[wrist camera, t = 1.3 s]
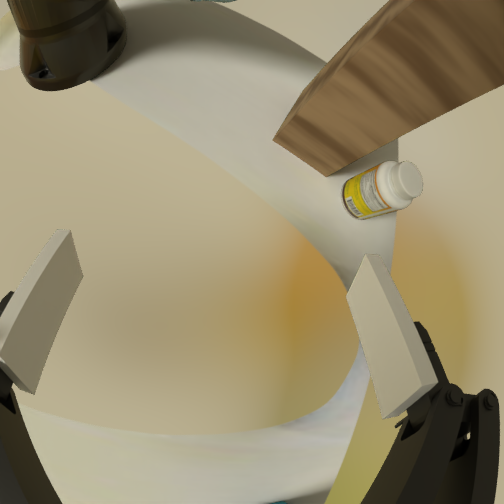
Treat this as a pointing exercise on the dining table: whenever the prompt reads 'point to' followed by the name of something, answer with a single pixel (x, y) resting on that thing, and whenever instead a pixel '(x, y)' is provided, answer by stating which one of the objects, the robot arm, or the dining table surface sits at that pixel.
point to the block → (279, 502)
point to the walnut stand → (396, 78)
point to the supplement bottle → (381, 189)
